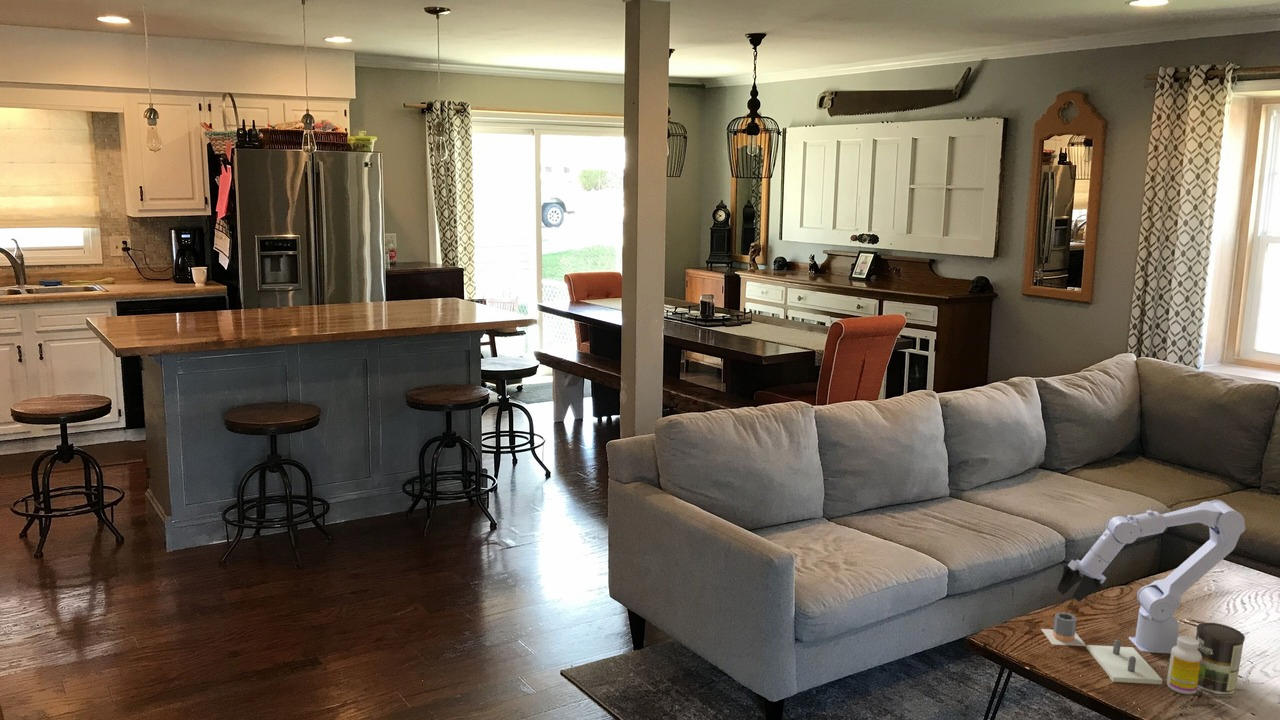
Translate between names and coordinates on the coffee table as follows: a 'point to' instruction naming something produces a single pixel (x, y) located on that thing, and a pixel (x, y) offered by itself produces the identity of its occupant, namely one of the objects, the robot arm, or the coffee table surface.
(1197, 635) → the coffee can
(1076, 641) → the pad
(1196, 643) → the supplement bottle
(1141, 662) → the pin board
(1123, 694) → the coffee table surface
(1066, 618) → the sleeve
